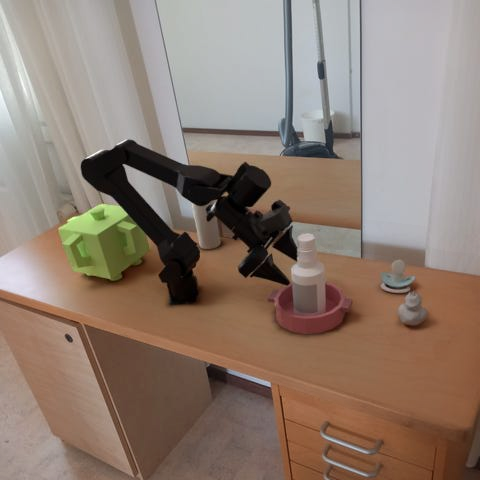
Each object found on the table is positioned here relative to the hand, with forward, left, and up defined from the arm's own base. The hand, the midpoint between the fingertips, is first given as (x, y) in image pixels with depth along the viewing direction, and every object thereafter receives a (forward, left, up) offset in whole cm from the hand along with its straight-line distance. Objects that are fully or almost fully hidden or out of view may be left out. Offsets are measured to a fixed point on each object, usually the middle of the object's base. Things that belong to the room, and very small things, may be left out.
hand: (296, 272), depth 101 cm
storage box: (-48, +30, -10) cm, 58 cm away
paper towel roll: (-22, +38, -10) cm, 45 cm away
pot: (+2, -1, -10) cm, 10 cm away
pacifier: (+22, +6, -10) cm, 25 cm away
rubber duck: (+22, -7, -10) cm, 26 cm away
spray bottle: (+2, -1, -10) cm, 10 cm away
